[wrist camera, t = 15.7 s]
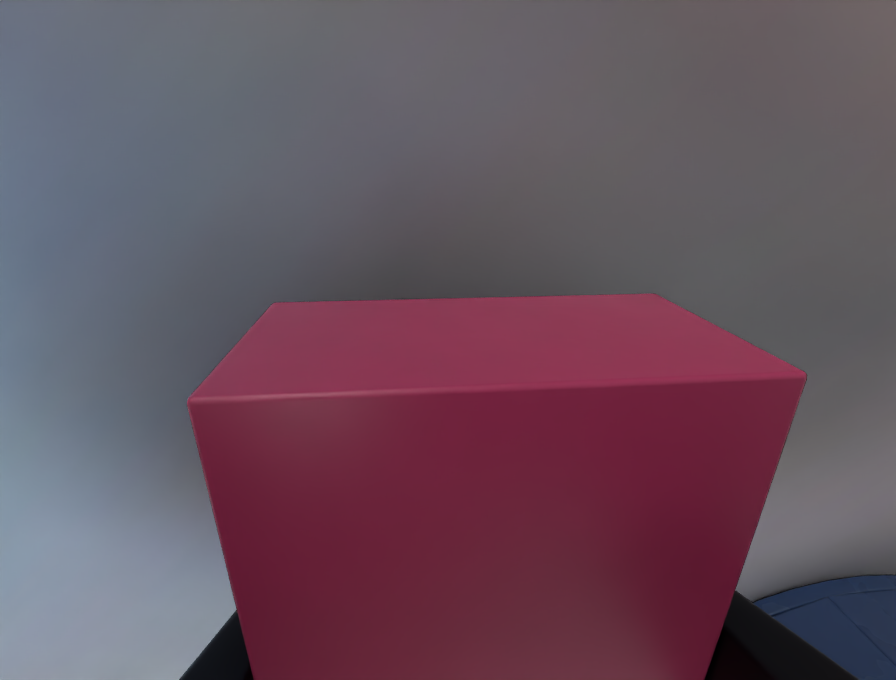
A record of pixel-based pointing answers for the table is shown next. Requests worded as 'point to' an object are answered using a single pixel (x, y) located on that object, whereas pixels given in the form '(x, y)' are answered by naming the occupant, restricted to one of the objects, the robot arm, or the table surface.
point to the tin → (844, 621)
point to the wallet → (488, 485)
